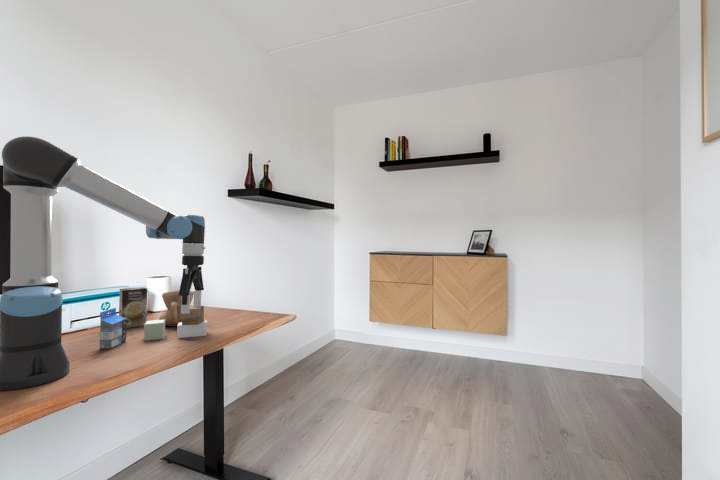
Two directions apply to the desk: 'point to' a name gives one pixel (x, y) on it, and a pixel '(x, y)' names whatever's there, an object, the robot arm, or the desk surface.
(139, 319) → the coffee box
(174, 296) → the ceramic jug
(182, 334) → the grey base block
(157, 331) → the sage cube
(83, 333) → the desk surface
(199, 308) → the walnut cube
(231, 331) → the desk surface
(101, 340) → the label tape cartridge
